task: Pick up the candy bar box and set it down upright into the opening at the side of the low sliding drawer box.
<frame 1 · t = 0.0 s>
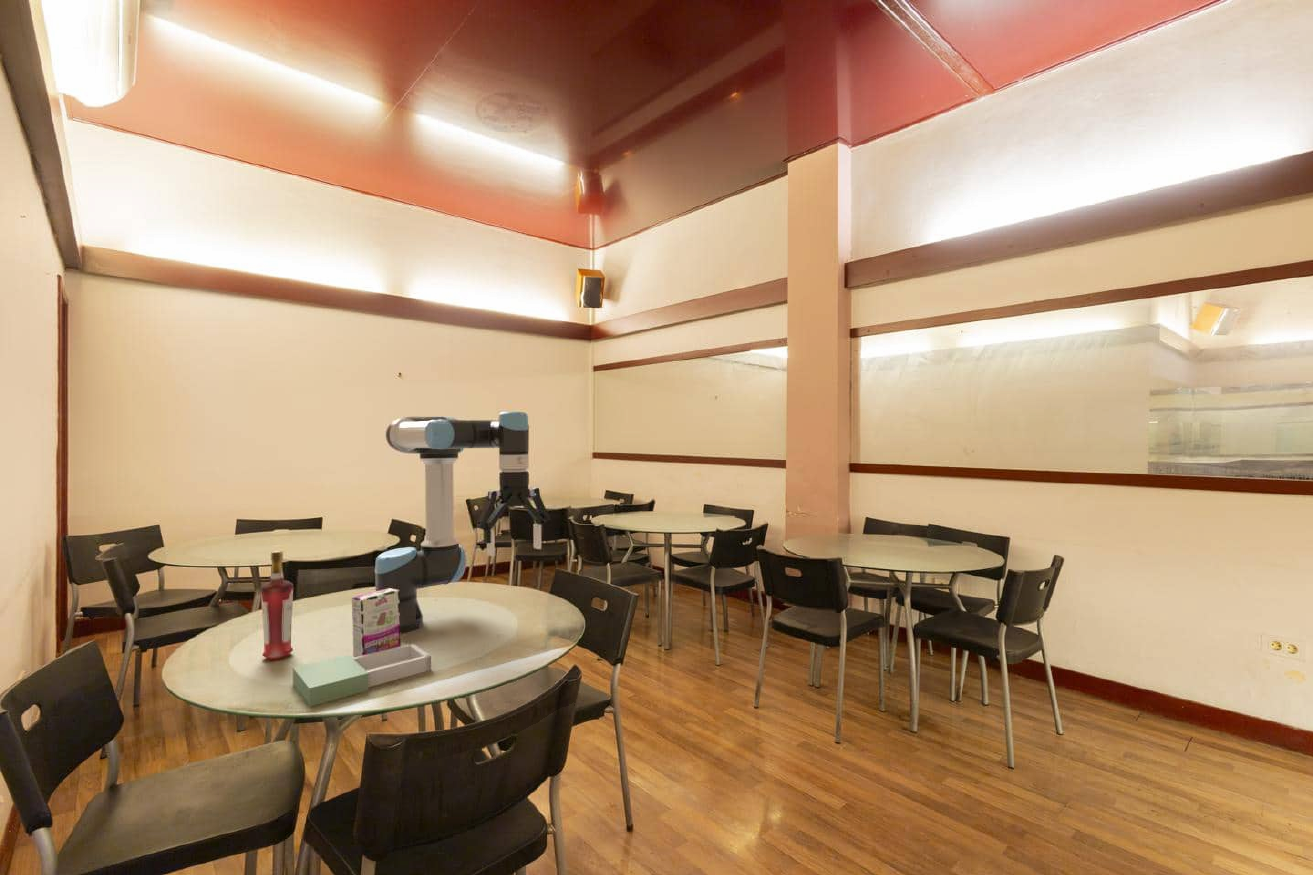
hand: (514, 551, 155), 28 cm above the table, fingers open, 13 cm apart
sliding drawer box: (330, 687, 138), on the table
liquor: (277, 657, 158), on the table
candy bar box: (377, 654, 159), on the table
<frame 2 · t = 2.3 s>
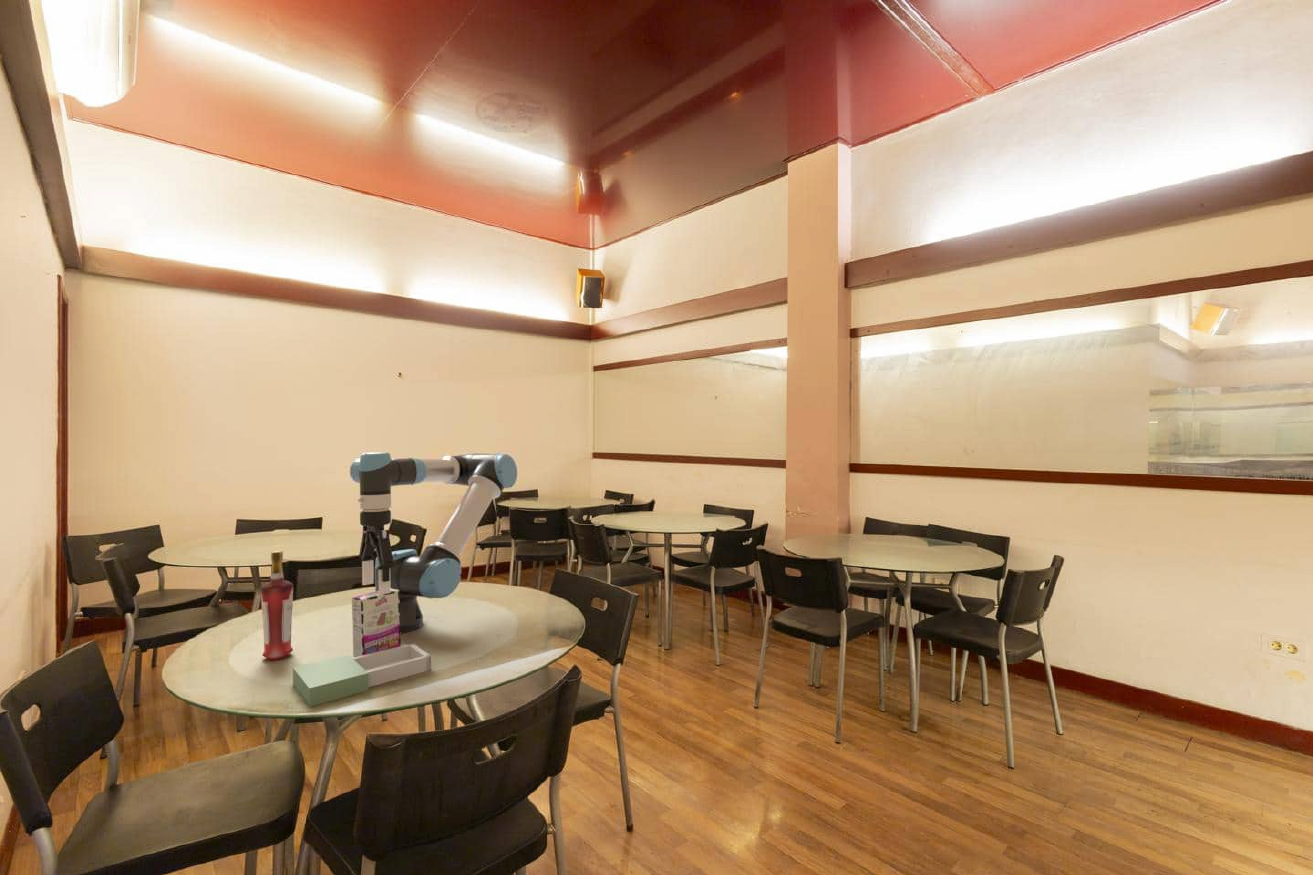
hand: (376, 588, 159), 18 cm above the table, fingers open, 13 cm apart
nothing on the table moved.
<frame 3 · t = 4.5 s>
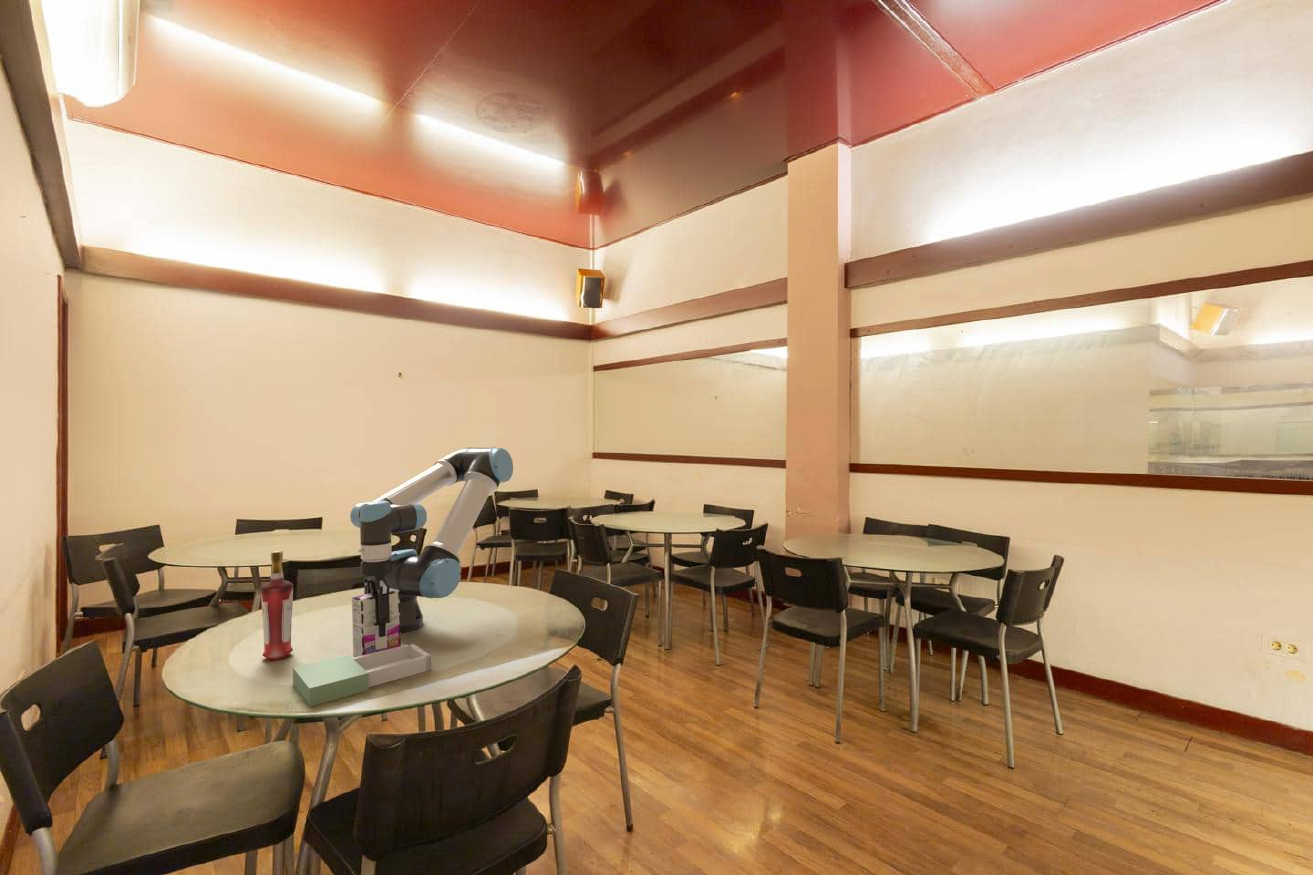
hand: (376, 644, 159), 2 cm above the table, fingers closed on candy bar box, 6 cm apart
candy bar box: (376, 654, 159), on the table, touching gripper
everything else where it was.
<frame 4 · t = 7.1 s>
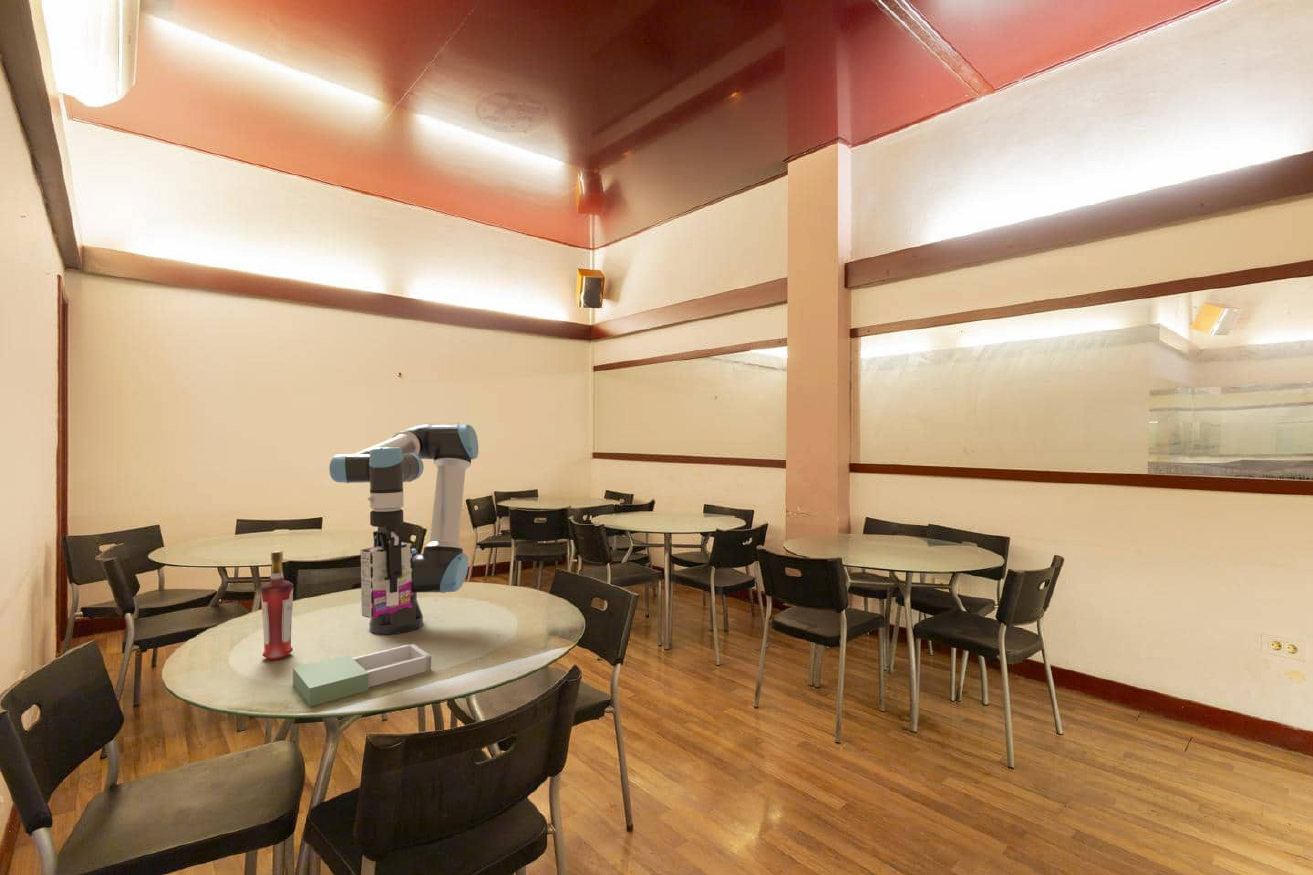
hand: (387, 602, 147), 17 cm above the table, fingers closed on candy bar box, 6 cm apart
candy bar box: (387, 612, 147), point 15 cm above the table, touching gripper
everything else where it was.
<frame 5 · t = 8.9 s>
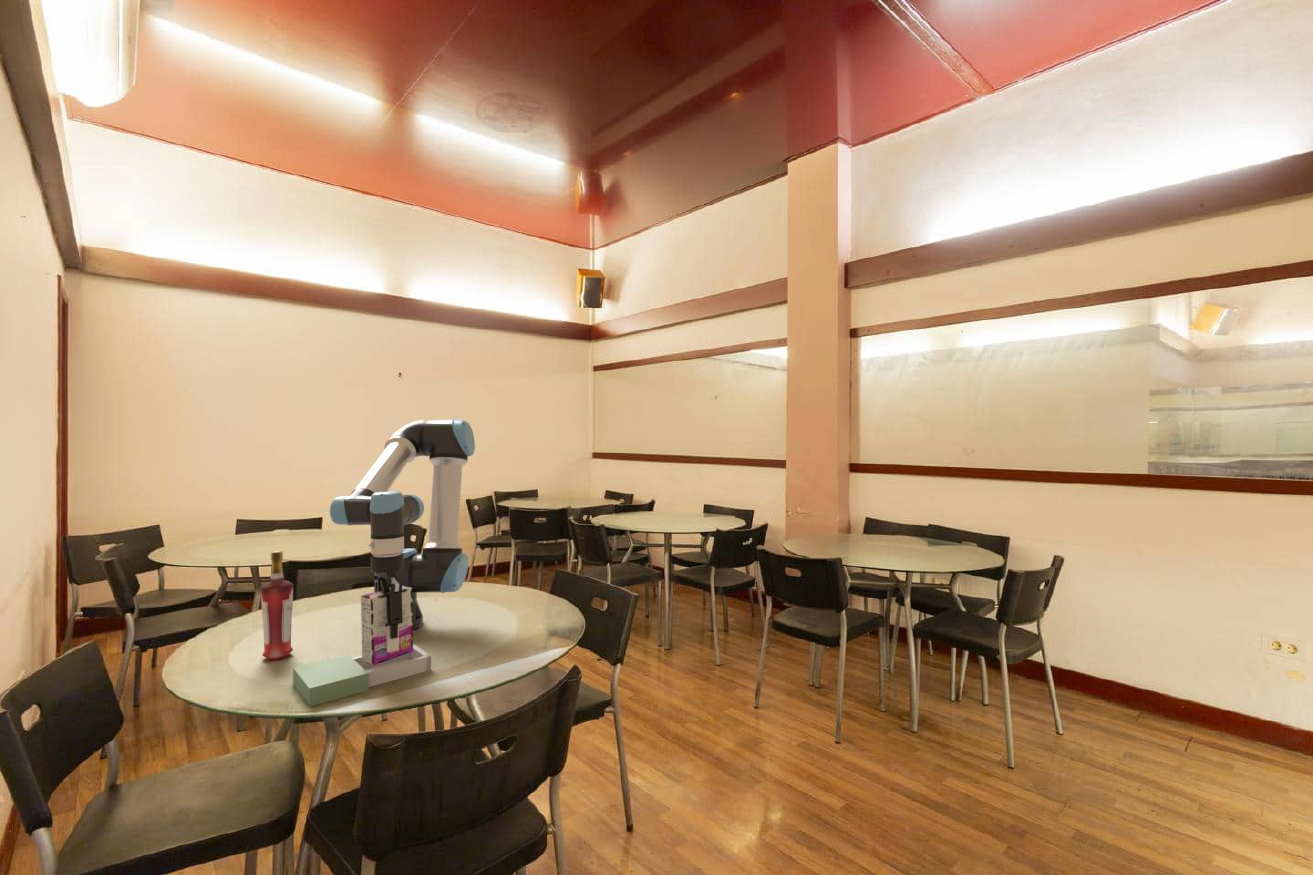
hand: (388, 647, 147), 6 cm above the table, fingers closed on candy bar box, 6 cm apart
candy bar box: (387, 657, 147), point 4 cm above the table, touching gripper
everything else where it was.
when the fingers open (5 cm above the table, at t = 10.0 s): candy bar box drops 2 cm, resting on sliding drawer box.
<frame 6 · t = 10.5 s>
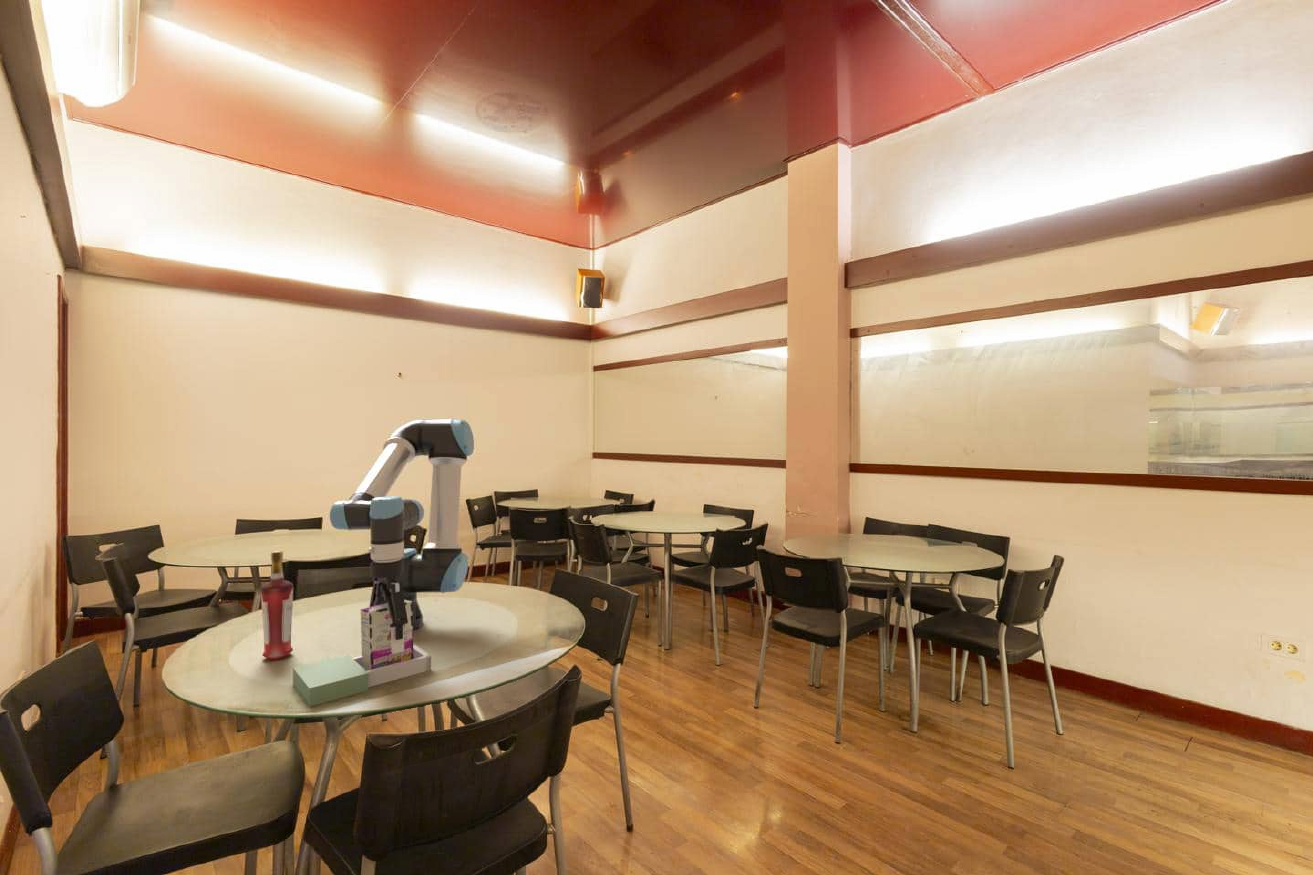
hand: (388, 645, 147), 7 cm above the table, fingers open, 13 cm apart
candy bar box: (387, 671, 147), resting on sliding drawer box
everything else where it was.
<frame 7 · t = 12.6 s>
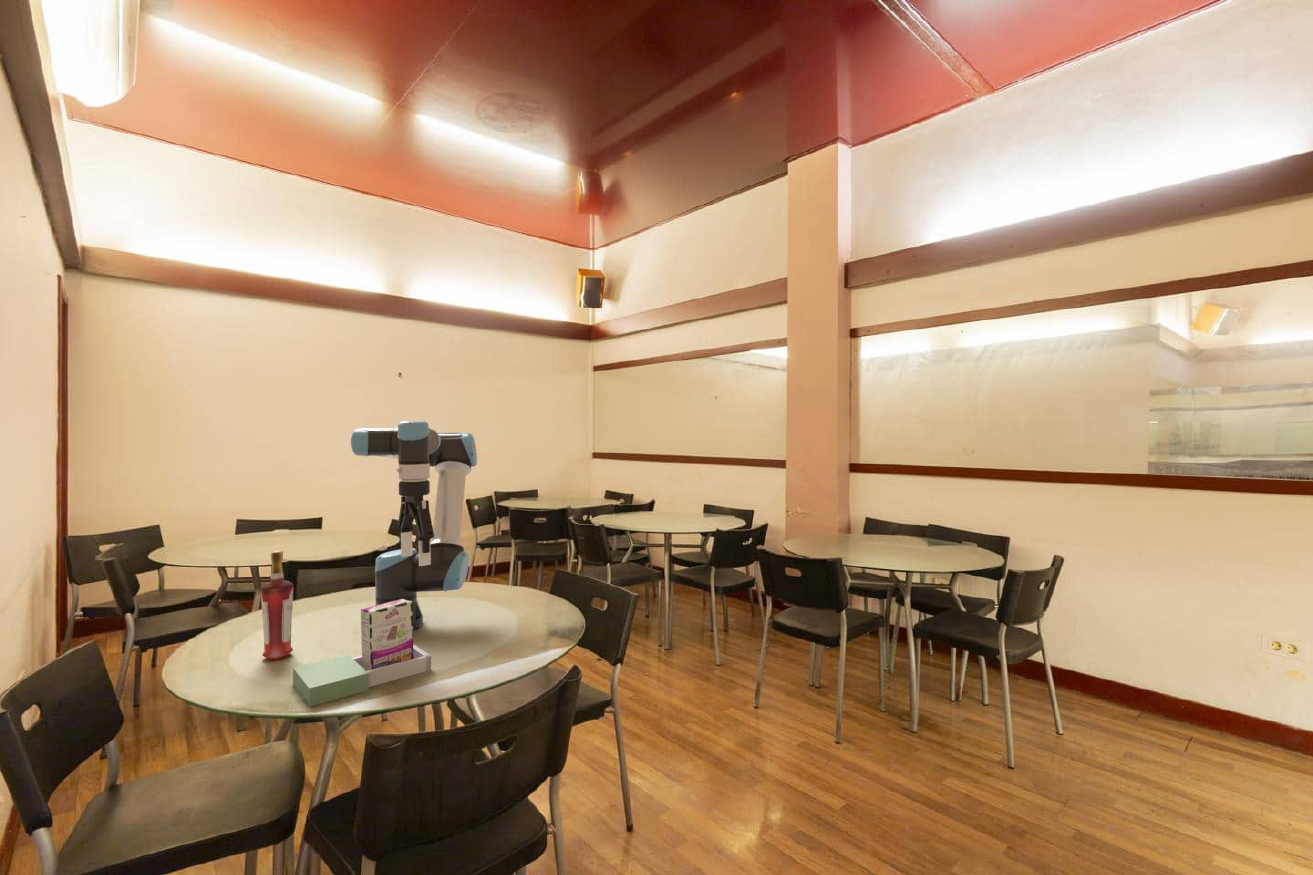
hand: (415, 560, 156), 26 cm above the table, fingers open, 13 cm apart
nothing on the table moved.
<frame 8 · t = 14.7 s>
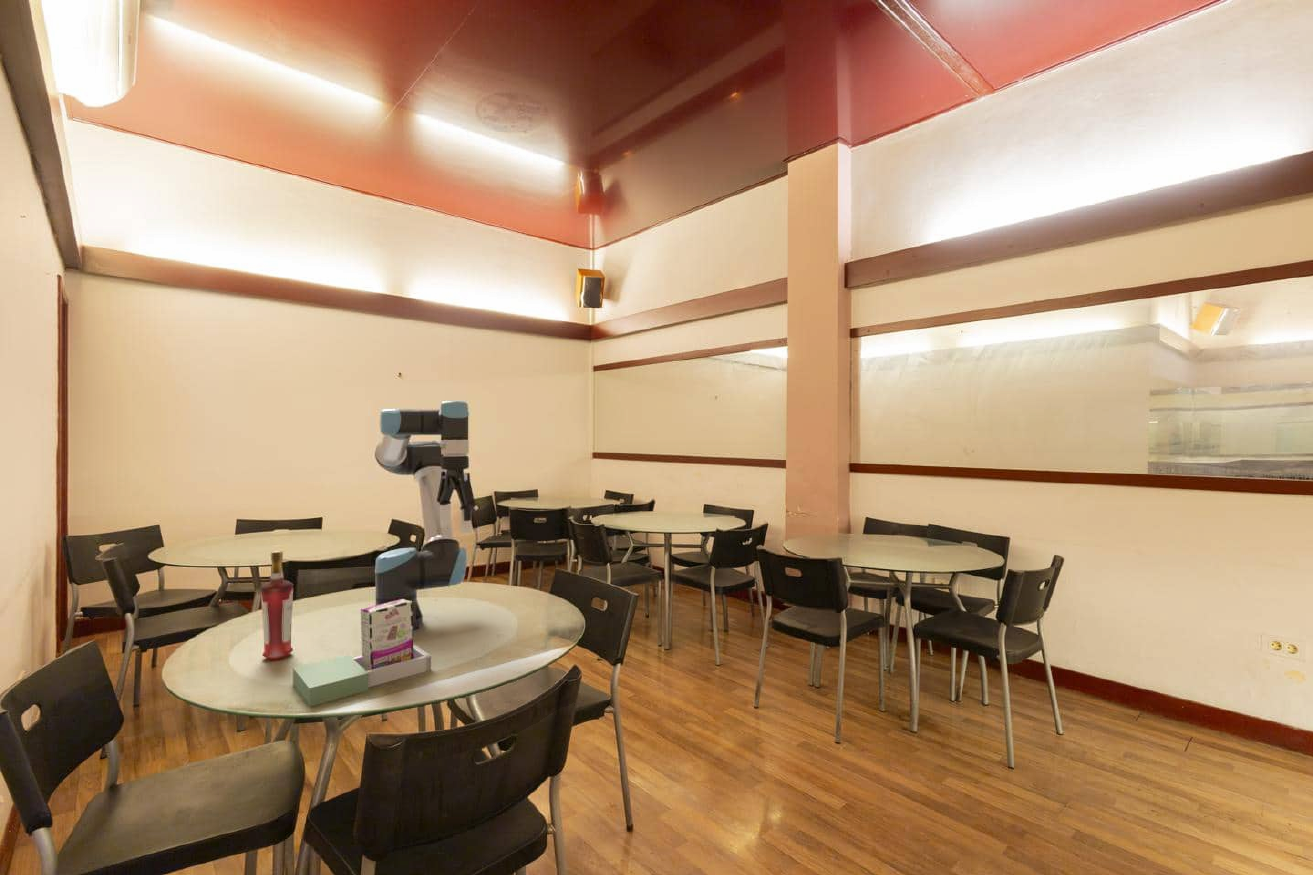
hand: (455, 529, 169), 32 cm above the table, fingers open, 13 cm apart
nothing on the table moved.
at the end: candy bar box inside the target area (0.2 cm from its centre), resting on sliding drawer box; candy bar box tilted 0°; the gripper is holding nothing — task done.
